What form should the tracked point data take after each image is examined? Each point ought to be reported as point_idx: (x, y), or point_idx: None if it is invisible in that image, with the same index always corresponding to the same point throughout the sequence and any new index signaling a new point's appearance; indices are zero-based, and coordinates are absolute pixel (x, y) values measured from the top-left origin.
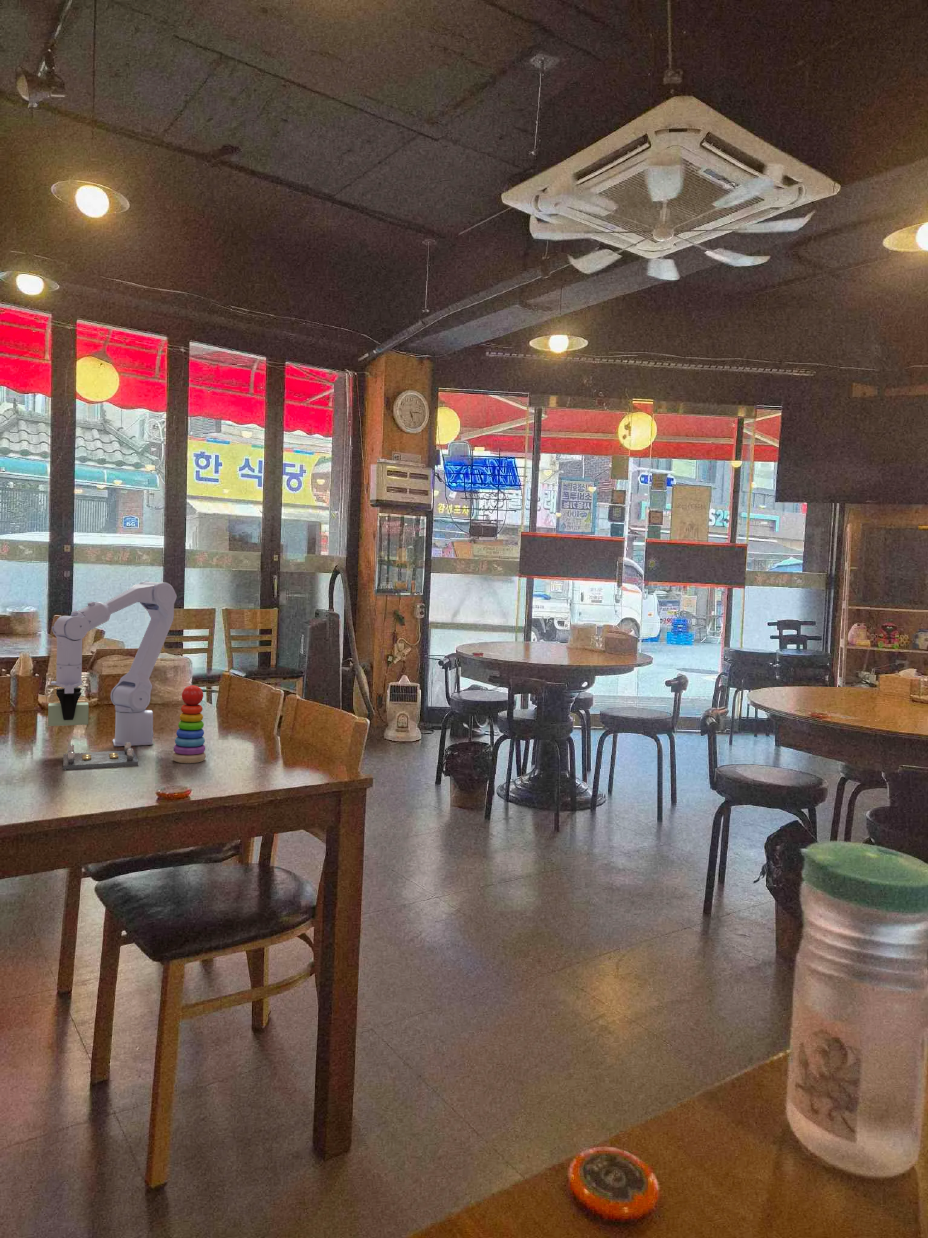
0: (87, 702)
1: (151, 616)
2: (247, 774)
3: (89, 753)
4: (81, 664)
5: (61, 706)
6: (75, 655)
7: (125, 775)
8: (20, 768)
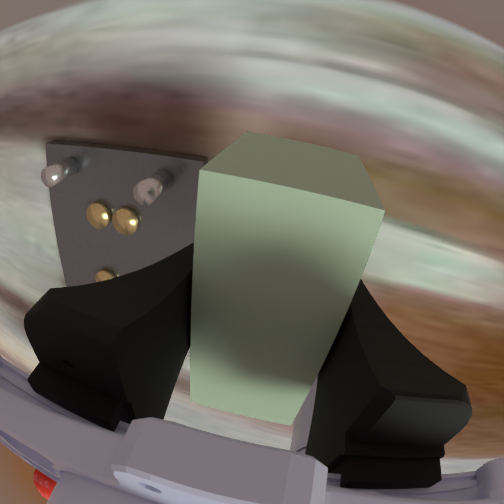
0: (283, 422)
1: None
2: None
3: (178, 241)
4: None
5: (146, 267)
6: None
7: (15, 251)
8: (102, 22)
